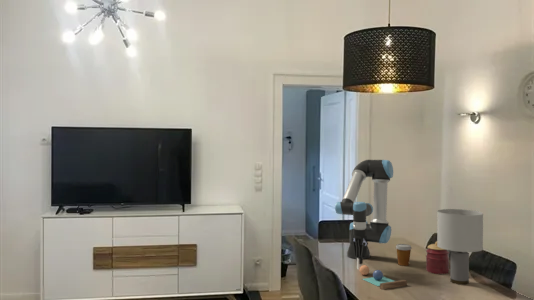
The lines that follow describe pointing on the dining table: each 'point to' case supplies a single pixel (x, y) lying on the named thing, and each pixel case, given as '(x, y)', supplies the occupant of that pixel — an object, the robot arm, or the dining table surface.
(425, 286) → the dining table surface
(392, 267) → the dining table surface
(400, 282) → the wall
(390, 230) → the robot arm
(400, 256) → the disposable coffee cup
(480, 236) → the lamp
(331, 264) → the dining table surface
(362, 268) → the orange sphere
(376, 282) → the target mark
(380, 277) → the object ball
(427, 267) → the canister
